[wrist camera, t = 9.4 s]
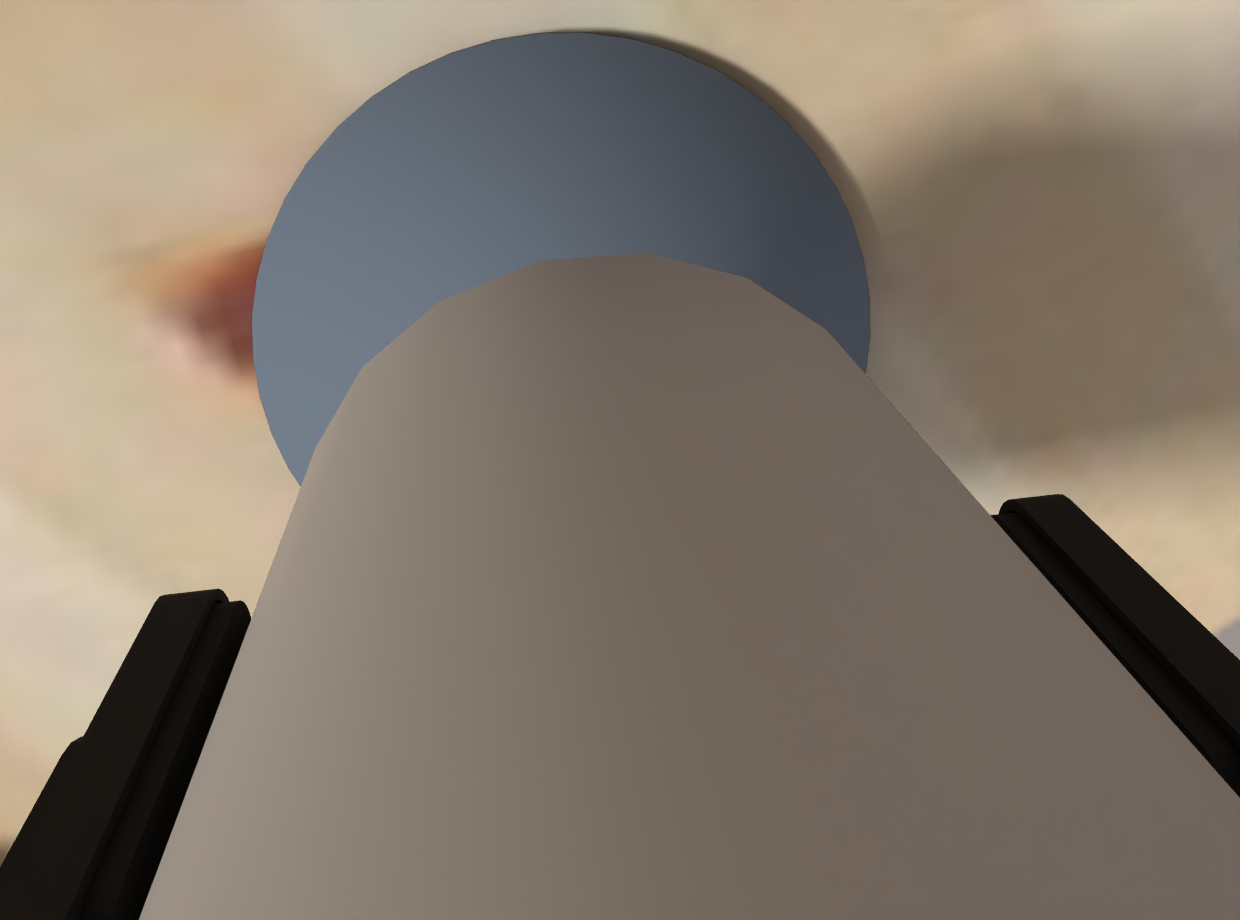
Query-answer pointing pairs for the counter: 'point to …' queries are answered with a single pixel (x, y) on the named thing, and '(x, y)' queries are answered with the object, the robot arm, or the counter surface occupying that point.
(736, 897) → the can
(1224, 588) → the counter surface
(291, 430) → the mat
